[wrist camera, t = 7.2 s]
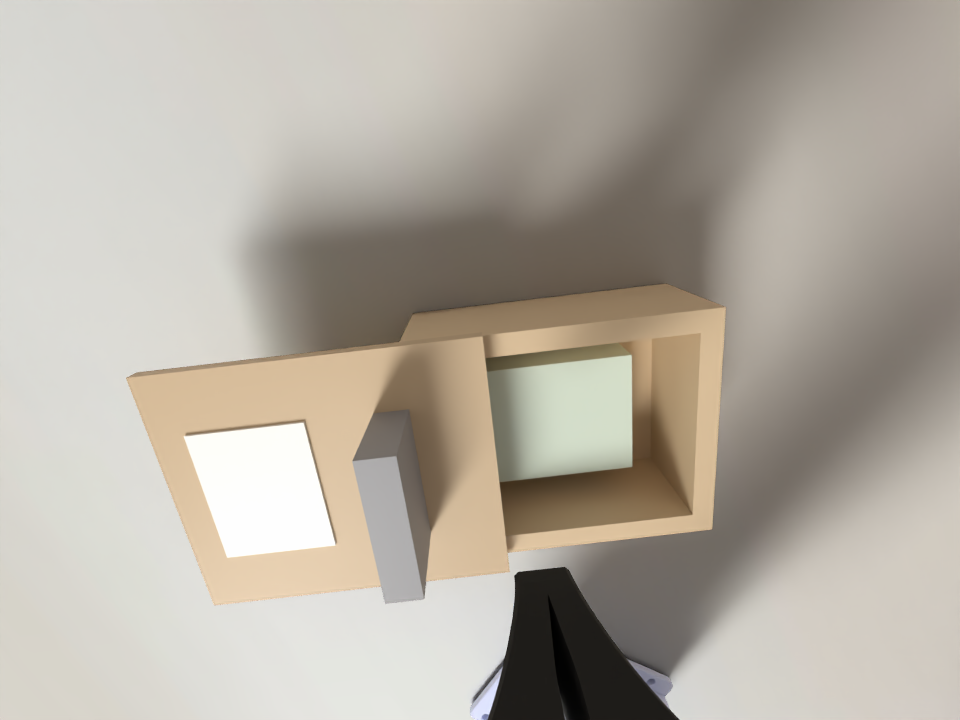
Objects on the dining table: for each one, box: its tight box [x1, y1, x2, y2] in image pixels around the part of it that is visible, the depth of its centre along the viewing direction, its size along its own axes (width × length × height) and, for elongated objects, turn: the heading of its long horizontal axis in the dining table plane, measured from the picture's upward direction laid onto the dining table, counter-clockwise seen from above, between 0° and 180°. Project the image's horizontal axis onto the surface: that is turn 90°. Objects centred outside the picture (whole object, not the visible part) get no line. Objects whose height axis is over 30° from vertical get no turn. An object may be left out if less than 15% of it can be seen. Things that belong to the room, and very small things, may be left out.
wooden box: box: [400, 284, 726, 553], centre depth 19 cm, size 11×9×5 cm
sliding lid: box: [126, 332, 510, 605], centre depth 15 cm, size 11×9×4 cm
